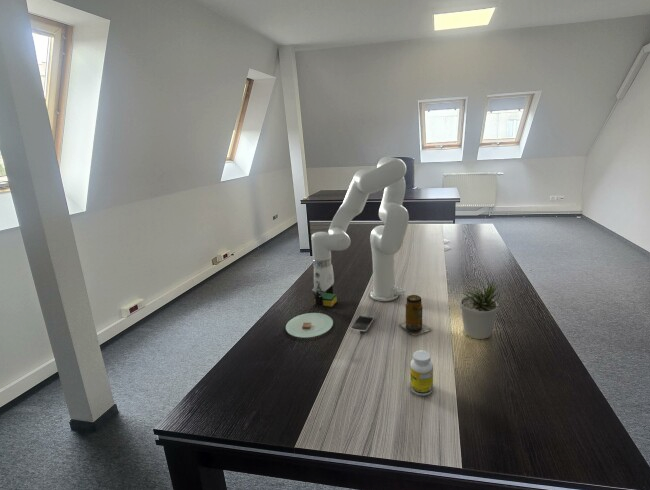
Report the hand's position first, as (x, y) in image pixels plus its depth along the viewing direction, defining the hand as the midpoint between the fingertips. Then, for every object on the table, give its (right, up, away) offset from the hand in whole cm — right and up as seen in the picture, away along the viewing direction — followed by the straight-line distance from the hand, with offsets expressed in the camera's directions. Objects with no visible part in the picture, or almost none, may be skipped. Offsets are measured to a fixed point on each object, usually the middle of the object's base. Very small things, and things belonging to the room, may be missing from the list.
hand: (324, 299), depth 153 cm
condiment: (+35, -7, -20) cm, 41 cm away
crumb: (-5, -7, -18) cm, 20 cm away
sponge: (+1, -2, +1) cm, 3 cm away
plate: (-4, -8, -16) cm, 18 cm away
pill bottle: (+32, -17, -51) cm, 62 cm away
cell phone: (+16, -7, -17) cm, 24 cm away
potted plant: (+56, -8, -26) cm, 62 cm away
